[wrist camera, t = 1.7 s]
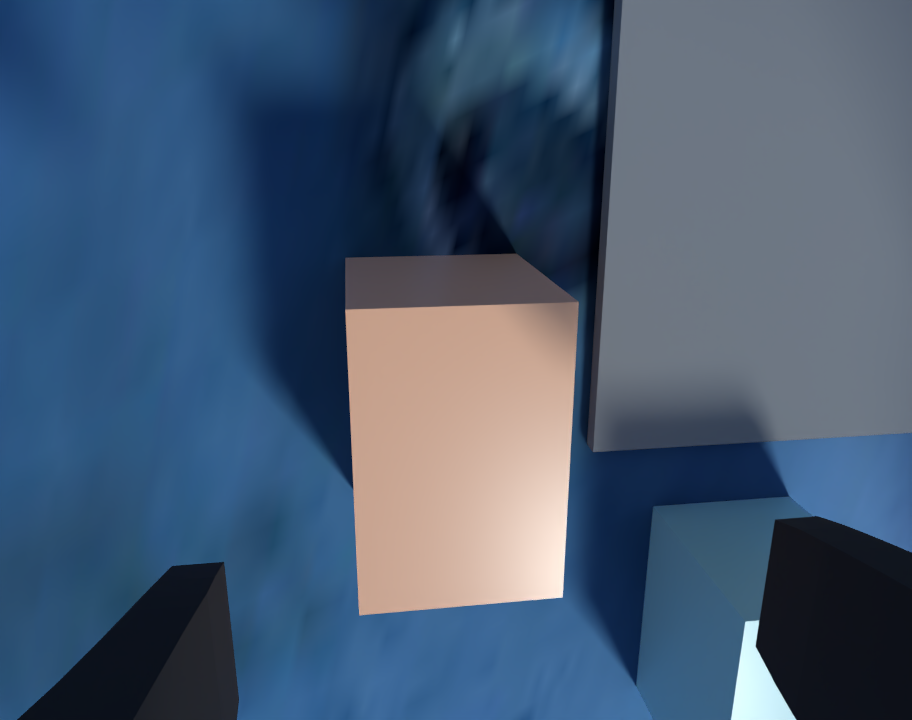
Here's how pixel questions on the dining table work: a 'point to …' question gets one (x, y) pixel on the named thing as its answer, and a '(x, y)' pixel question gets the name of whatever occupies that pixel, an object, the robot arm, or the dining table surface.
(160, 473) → the dining table surface
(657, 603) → the teal brick
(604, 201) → the build mat
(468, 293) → the terracotta brick
